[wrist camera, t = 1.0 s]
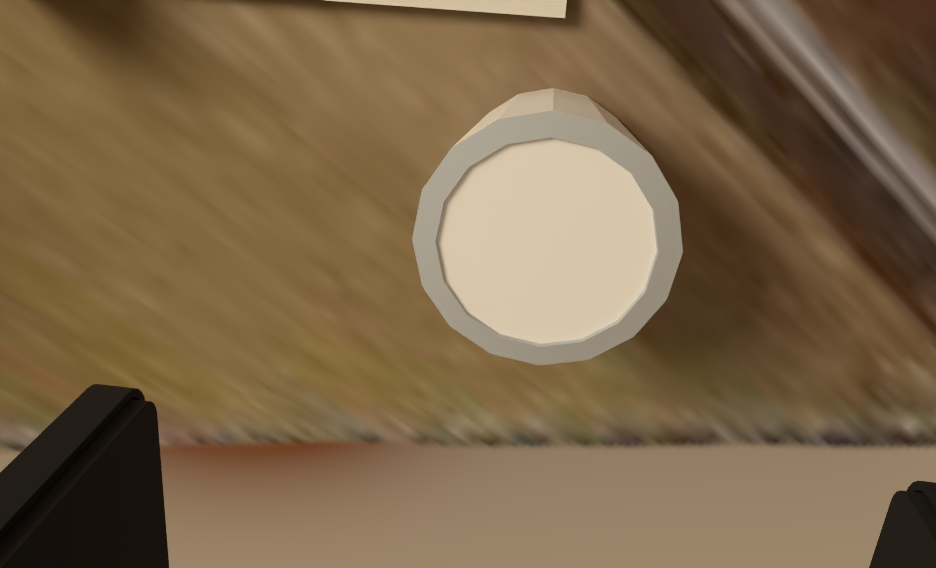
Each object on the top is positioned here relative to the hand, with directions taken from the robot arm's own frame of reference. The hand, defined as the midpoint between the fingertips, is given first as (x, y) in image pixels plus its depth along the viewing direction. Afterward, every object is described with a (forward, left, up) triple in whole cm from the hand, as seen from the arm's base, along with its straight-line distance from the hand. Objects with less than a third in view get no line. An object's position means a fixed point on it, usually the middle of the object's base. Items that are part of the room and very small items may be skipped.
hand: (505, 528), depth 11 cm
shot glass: (0, 0, -19) cm, 19 cm away
